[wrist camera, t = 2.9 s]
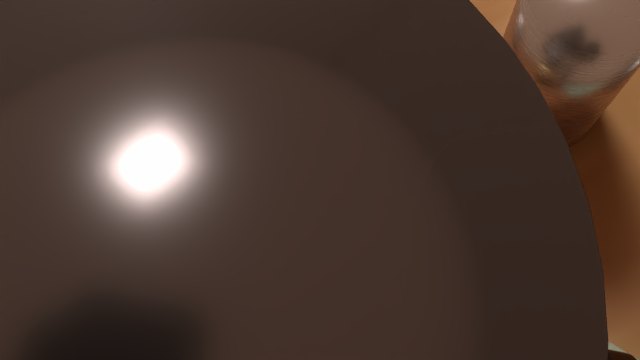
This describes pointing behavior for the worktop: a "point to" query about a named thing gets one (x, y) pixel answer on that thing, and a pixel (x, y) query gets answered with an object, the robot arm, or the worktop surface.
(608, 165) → the worktop surface
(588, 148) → the worktop surface
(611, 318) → the worktop surface
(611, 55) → the spacer field
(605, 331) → the dark brown cylinder
